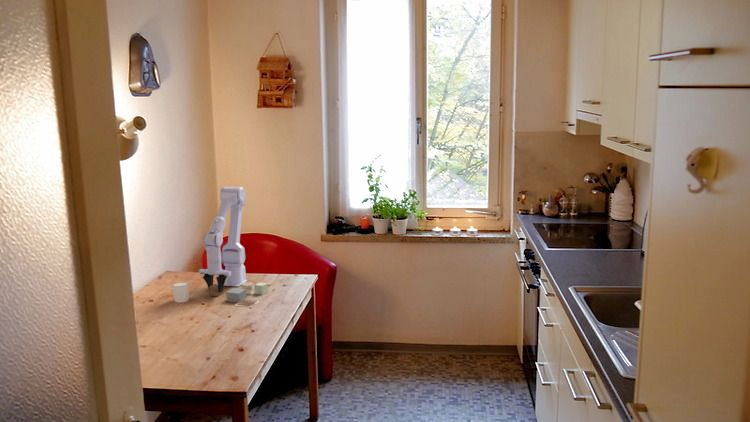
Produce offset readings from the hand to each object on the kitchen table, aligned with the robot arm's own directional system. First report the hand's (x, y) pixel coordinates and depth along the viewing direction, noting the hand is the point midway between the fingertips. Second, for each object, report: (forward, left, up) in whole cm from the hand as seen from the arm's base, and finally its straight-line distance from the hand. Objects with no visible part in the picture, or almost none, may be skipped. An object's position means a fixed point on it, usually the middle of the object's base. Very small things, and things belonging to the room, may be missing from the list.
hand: (216, 291), depth 286 cm
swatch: (+8, +19, -1) cm, 21 cm away
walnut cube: (0, 0, -1) cm, 1 cm away
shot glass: (+11, -10, -2) cm, 15 cm away
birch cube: (-6, +12, -2) cm, 14 cm away
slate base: (+4, +12, -2) cm, 13 cm away
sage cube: (-7, +18, -2) cm, 19 cm away
